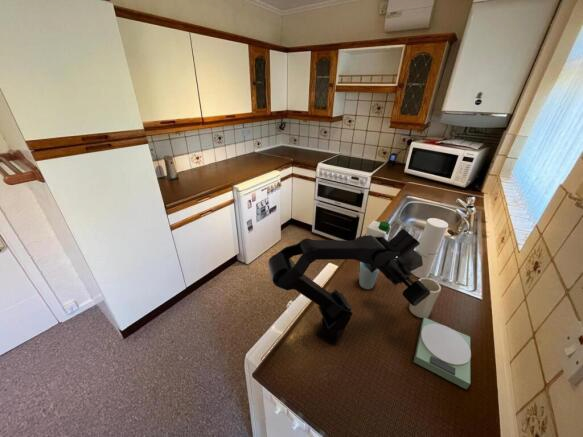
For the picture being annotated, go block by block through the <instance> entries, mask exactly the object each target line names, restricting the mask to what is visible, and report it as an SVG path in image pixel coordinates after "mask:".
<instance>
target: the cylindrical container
mask: <svg viewBox="0 0 583 437" xmlns="http://www.w3.org/2000/svg"><path fill="white" fill-rule="evenodd" d="M448 228H449V223H448V222H447V221H445V220H443V219H440V218H437V217H430V218H428V219H427V220H426V222H425V225H424V228H423V231H422V235H421V238H420V240H419V243H420V245H418V246H417V248H416V252H417V253H418V254H420V255H421V256H422V261H423V265H422V266H421V267H418V268H417V269H415V270H413V271H410V272H411V273H412V275H413V276H415V277H416V278H419V279H421V278H429V277H430V273H431V271H432V268H433V266H434V264H435V261H436V258H437V256H438V253H439V250H440V248H441V245H442V243H443V240H444V238H445V235H446V233H447V230H448Z"/></svg>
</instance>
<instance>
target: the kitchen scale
mask: <svg viewBox="0 0 583 437" xmlns="http://www.w3.org/2000/svg"><path fill="white" fill-rule="evenodd" d="M471 358H472V351H471V336H469V335H467V334H465V333H463V332H459V331H457V330H456V329H453V328H451V327H449V326H446V325H444V324H442V323H439V322H436V321H434V320H432V319H429V318H428V317H427V318H425V317H424V318H422V320H421V324H420V328H419V334H418V338H417V343H416V348H415V352H414V358H413V363H415V364H416V365H418V366H420V367H422V368H424V369H426V370H428V371H429V372H431V373H434V374H436V375H438V376H440V377H441V378H443V379H444V380H447V381H448V382H450V383H453V384H454V385H457V386H458V387H460V388H462V389H464V390H468V388H469V387H470V385H471Z"/></svg>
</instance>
